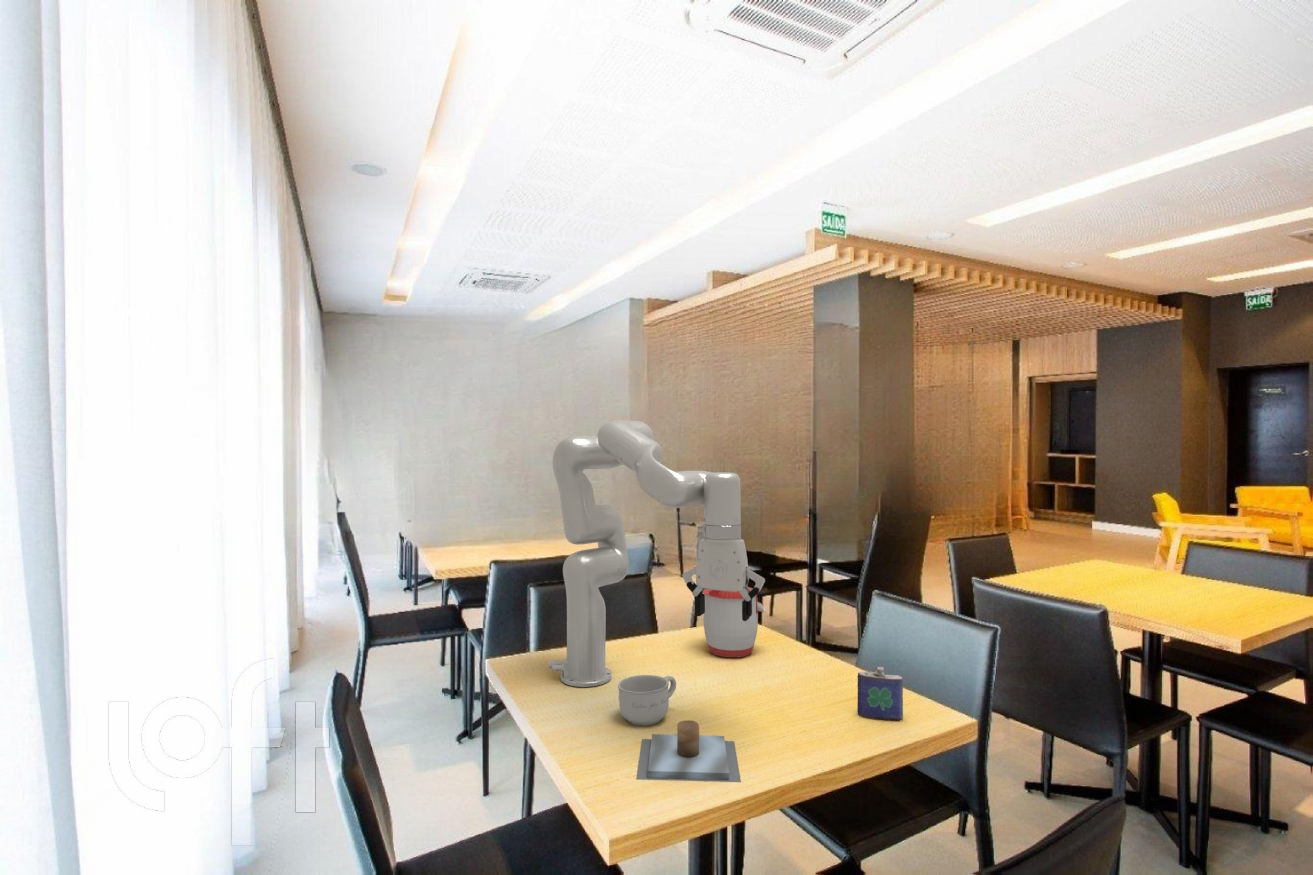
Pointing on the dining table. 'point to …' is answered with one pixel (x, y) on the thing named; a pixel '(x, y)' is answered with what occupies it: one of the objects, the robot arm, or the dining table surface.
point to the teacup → (645, 698)
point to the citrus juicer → (729, 623)
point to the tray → (733, 777)
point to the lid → (688, 755)
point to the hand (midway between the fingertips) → (723, 616)
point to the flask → (880, 695)
